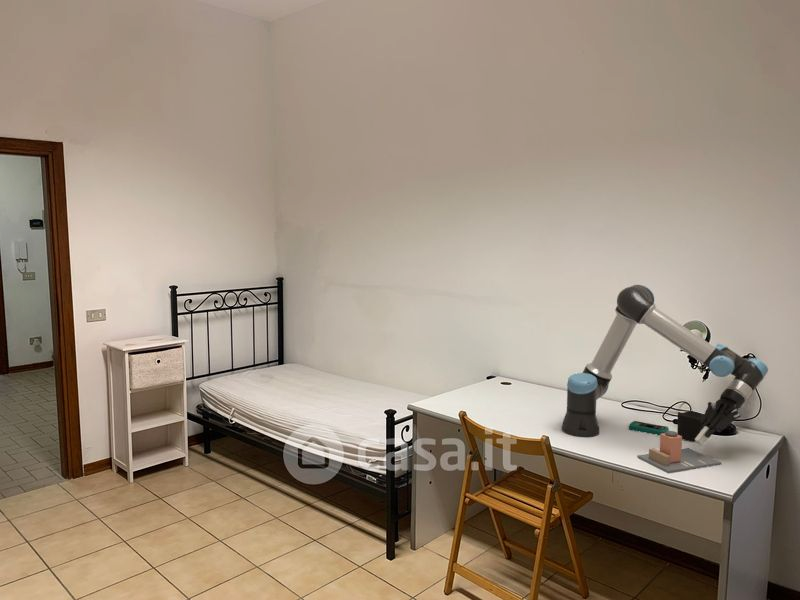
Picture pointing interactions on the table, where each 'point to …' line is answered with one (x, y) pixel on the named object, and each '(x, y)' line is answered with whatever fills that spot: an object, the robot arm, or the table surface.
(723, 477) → the table surface
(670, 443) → the pink capped canister
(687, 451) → the plate
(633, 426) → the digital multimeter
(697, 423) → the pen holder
